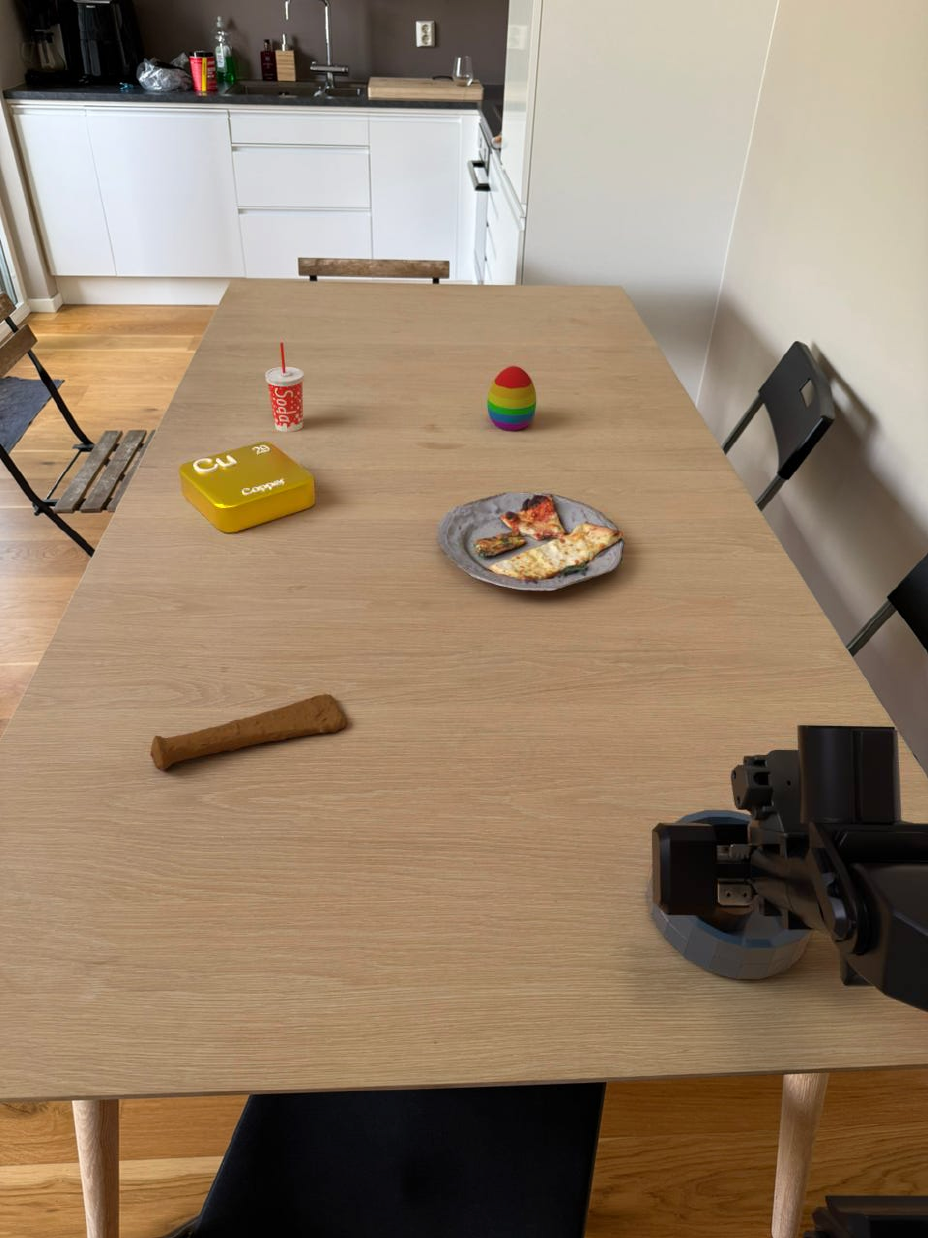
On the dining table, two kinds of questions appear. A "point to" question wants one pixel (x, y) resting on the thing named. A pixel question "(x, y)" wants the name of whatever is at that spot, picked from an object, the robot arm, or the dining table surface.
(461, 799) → the dining table surface
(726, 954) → the bowl
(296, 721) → the primitive tool
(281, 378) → the beverage cup
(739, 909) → the pestle
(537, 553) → the food plate
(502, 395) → the decorative egg
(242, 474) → the element tile
